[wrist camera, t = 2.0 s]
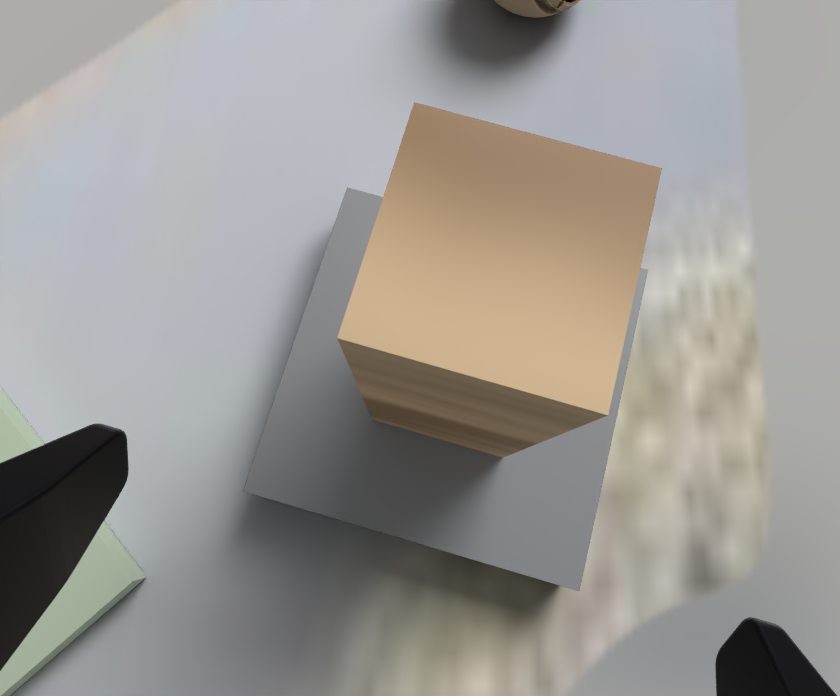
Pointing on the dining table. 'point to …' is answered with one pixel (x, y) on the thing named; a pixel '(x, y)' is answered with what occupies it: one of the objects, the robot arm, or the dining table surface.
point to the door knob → (536, 6)
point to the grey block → (422, 448)
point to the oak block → (496, 284)
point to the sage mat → (86, 587)
